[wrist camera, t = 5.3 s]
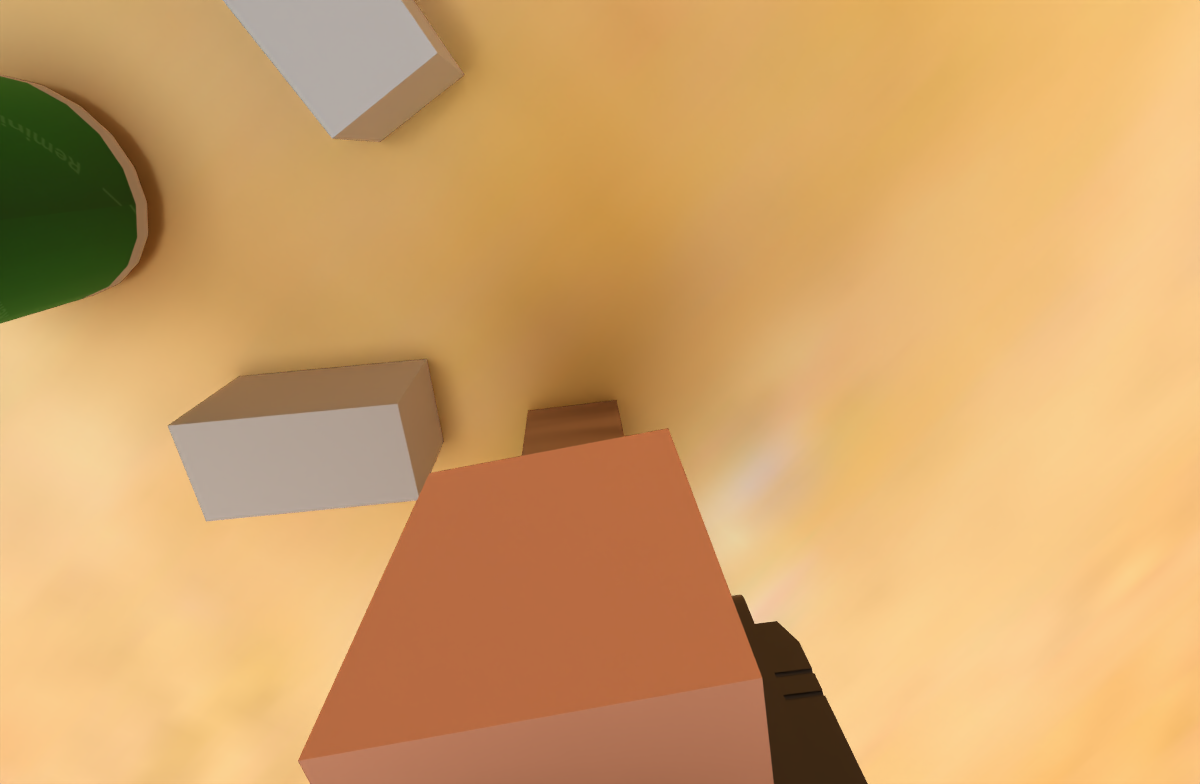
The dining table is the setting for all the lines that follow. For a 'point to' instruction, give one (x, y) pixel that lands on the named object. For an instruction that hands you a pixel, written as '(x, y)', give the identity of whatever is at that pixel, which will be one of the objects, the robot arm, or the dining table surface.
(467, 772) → the terracotta brick
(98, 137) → the soda can
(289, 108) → the dining table surface
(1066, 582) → the dining table surface
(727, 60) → the dining table surface
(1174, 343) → the dining table surface
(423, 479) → the slate brick
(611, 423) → the walnut brick
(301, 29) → the blue-grey brick
